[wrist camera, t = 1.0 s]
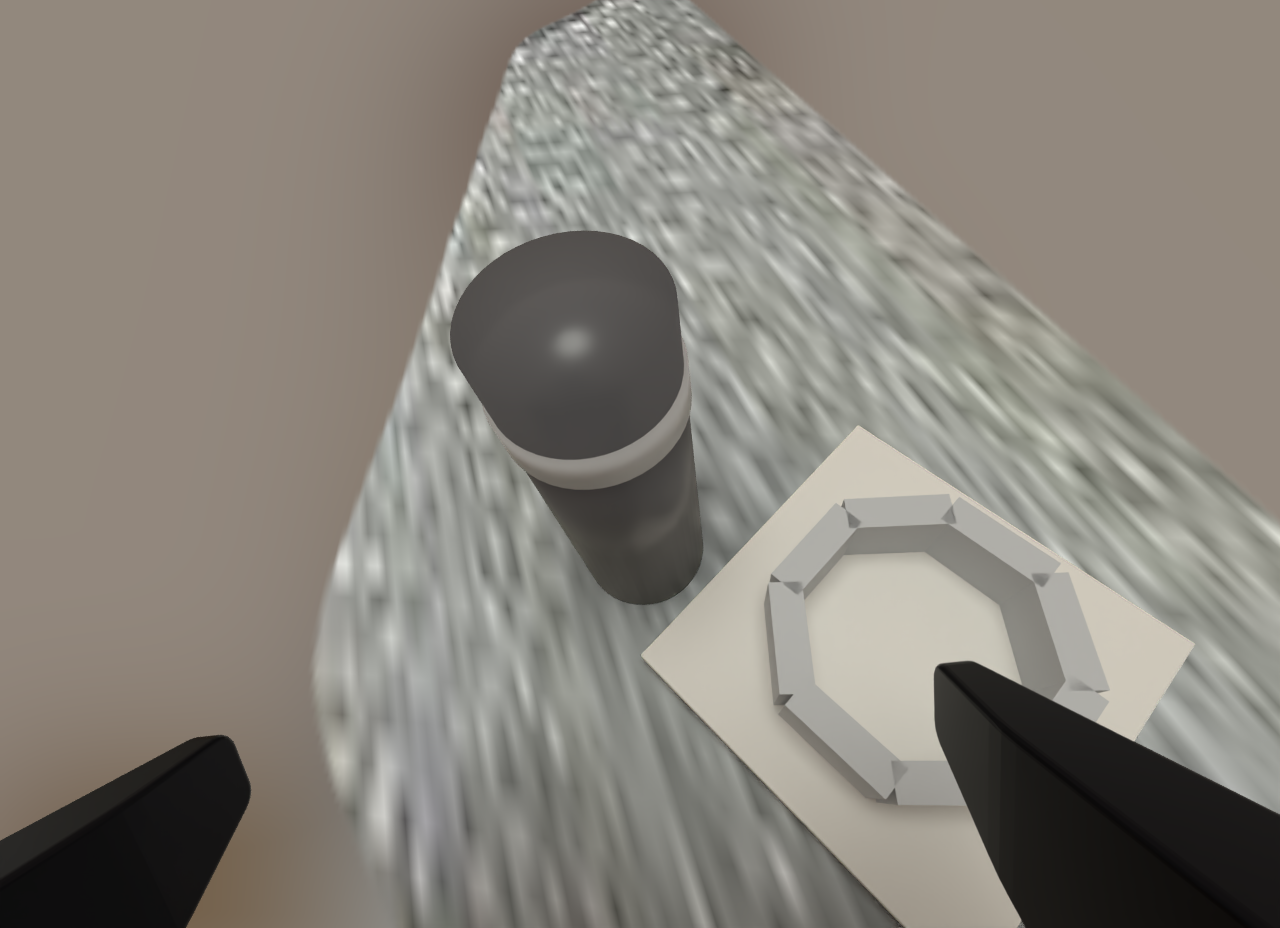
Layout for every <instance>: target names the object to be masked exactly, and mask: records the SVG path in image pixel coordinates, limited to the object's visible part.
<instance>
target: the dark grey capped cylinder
mask: <svg viewBox="0 0 1280 928" xmlns="http://www.w3.org/2000/svg"><path fill="white" fill-rule="evenodd" d="M450 340H451V348H452V352H453V356H454V358H455V361H456V363H457V366H458V367H459V369H460V370H461V372H462V373H463V375H464V376H465V378H466V380H467V381H468V383H469V384H470V386H471V387H472V389H473V390H474V392H475V393H476V395H477V397H478V398H479V400H480V401H481V403H482V406H483V410H484V413H485V415H486V418H487V420H488V422H489V424H490V425H491V427H492V428H493V430H494V432H495V433H496V435H497V436H498V438H499V439H500V441H501V442H502V444H503V445H504V447H505V448H506V450H507V451H508V453H509V454H510V456H511V457H512V459H513V460H514V461H515V462H516V463H517V464H518V465H519V467H521V468H522V469H523V470H524V471H526V473H527V474H528V476H529V477H530V479H531V480H532V482H533V483H534V485H535V487H536V488H537V490H538V491H539V493H540V494H541V496H542V497H543V499H544V501H545V502H546V504H547V505H548V507H549V508H550V510H551V511H552V513H553V515H554V516H555V518H556V519H557V521H558V522H559V524H560V525H561V527H562V528H563V530H564V532H565V533H566V535H567V536H568V538H569V539H570V541H571V542H572V544H573V546H574V547H575V549H576V550H577V552H578V553H579V555H580V556H581V558H582V560H583V561H584V563H585V564H586V566H587V567H588V569H589V570H590V572H591V574H592V575H593V577H594V578H595V580H596V581H597V583H598V584H599V585H600V586H601V587H602V589H604V590H605V591H606V592H607V593H608V594H610V595H611V596H613V597H614V598H617V599H619V600H621V601H624V602H627V603H632V604H642V605H645V604H654V603H658V602H662V601H664V600H667V599H669V598H671V597H673V596H675V595H676V594H678V593H679V592H681V591H682V590H683V589H684V588H685V587H686V586H687V585H688V584H689V583H690V582H691V580H692V579H693V577H694V576H695V574H696V573H697V570H698V568H699V566H700V563H701V560H702V554H703V539H702V530H701V520H700V511H699V501H698V491H697V482H696V472H695V463H694V453H693V444H692V434H691V424H690V410H691V400H692V393H691V382H690V371H689V361H688V353H687V349H686V346H685V343H684V340H683V338H682V336H681V329H680V319H679V309H678V300H677V292H676V287H675V284H674V281H673V278H672V276H671V274H670V273H669V271H668V269H667V268H666V266H665V265H664V264H663V262H662V261H661V260H660V259H659V258H658V257H657V256H656V255H655V254H654V253H653V252H651V251H650V250H649V249H647V248H646V247H644V246H643V245H641V244H639V243H637V242H635V241H633V240H631V239H628V238H625V237H623V236H619V235H615V234H611V233H606V232H598V231H570V232H563V233H556V234H552V235H548V236H544V237H540V238H537V239H534V240H531V241H529V242H526V243H524V244H522V245H520V246H517V247H515V248H514V249H512V250H510V251H508V252H506V253H504V254H503V255H501V256H500V257H499V258H497V259H496V260H494V261H493V262H492V263H490V264H489V265H488V266H487V267H486V268H484V269H483V270H482V271H481V272H480V273H479V274H478V275H477V276H476V277H475V278H474V279H473V281H472V282H471V283H470V284H469V286H468V287H467V288H466V290H465V291H464V293H463V295H462V296H461V298H460V300H459V302H458V304H457V306H456V309H455V311H454V315H453V318H452V322H451V330H450Z"/></svg>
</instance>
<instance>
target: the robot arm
mask: <svg viewBox="0 0 1280 928" xmlns="http://www.w3.org/2000/svg"><path fill="white" fill-rule="evenodd" d="M934 721H935V729H936V733H937V737H938V740H939V743H940V745H941V748H942V750H943V752H944V755H945V757H946V759H947V762H948V764H949V766H950V768H951V771H952V773H953V775H954V778H955V780H956V782H957V784H958V787H959V789H960V791H961V794H962V796H963V798H964V801H965V803H966V805H967V807H968V810H969V812H970V814H971V817H972V819H973V821H974V823H975V826H976V828H977V830H978V833H979V835H980V837H981V840H982V842H983V844H984V846H985V849H986V851H987V853H988V856H989V858H990V860H991V862H992V864H993V866H994V869H995V871H996V873H997V875H998V877H999V879H1000V881H1001V883H1002V885H1003V887H1004V889H1005V891H1006V893H1007V895H1008V896H1009V898H1010V900H1011V902H1012V904H1013V906H1014V908H1015V909H1016V911H1017V913H1018V915H1019V917H1020V918H1021V920H1022V922H1023V924H1024V926H1025V927H1026V928H1280V814H1278V813H1276V812H1274V811H1272V810H1270V809H1268V808H1266V807H1264V806H1262V805H1260V804H1258V803H1256V802H1254V801H1252V800H1250V799H1248V798H1246V797H1244V796H1242V795H1240V794H1238V793H1236V792H1234V791H1232V790H1230V789H1228V788H1226V787H1224V786H1222V785H1220V784H1218V783H1216V782H1214V781H1212V780H1210V779H1208V778H1206V777H1204V776H1202V775H1200V774H1198V773H1196V772H1194V771H1192V770H1190V769H1188V768H1186V767H1184V766H1182V765H1180V764H1178V763H1176V762H1174V761H1172V760H1170V759H1168V758H1166V757H1164V756H1162V755H1160V754H1158V753H1156V752H1154V751H1152V750H1150V749H1148V748H1146V747H1144V746H1142V745H1140V744H1138V743H1136V742H1134V741H1132V740H1130V739H1128V738H1126V737H1124V736H1122V735H1120V734H1118V733H1116V732H1114V731H1112V730H1110V729H1108V728H1106V727H1104V726H1102V725H1100V724H1098V723H1096V722H1094V721H1092V720H1090V719H1088V718H1086V717H1084V716H1082V715H1080V714H1078V713H1076V712H1074V711H1072V710H1070V709H1068V708H1066V707H1064V706H1062V705H1060V704H1058V703H1056V702H1054V701H1052V700H1050V699H1048V698H1046V697H1044V696H1042V695H1040V694H1038V693H1036V692H1034V691H1032V690H1030V689H1029V688H1027V687H1025V686H1023V685H1021V684H1019V683H1017V682H1015V681H1013V680H1011V679H1009V678H1007V677H1005V676H1003V675H1001V674H999V673H997V672H995V671H993V670H991V669H989V668H987V667H985V666H983V665H981V664H979V663H976V662H974V661H958V662H948V663H940V664H939V665H937V666H936V667H935V671H934ZM250 795H251V785H250V781H249V779H248V776H247V774H246V771H245V769H244V766H243V764H242V761H241V759H240V756H239V754H238V751H237V749H236V746H235V744H234V742H233V741H232V740H231V739H230V738H229V737H228V736H224V735H214V736H205V737H196V738H193V739H190V740H188V741H186V742H184V743H182V744H180V745H179V746H177V747H175V748H173V749H171V750H169V751H167V752H165V753H164V754H162V755H160V756H158V757H156V758H154V759H152V760H151V761H149V762H147V763H145V764H143V765H141V766H139V767H137V768H135V769H134V770H132V771H130V772H128V773H126V774H124V775H122V776H120V777H119V778H117V779H115V780H113V781H111V782H109V783H107V784H105V785H104V786H102V787H100V788H98V789H96V790H94V791H92V792H90V793H89V794H87V795H85V796H83V797H81V798H79V799H77V800H75V801H74V802H72V803H70V804H68V805H66V806H65V807H62V808H61V809H59V810H57V811H55V812H53V813H51V814H49V815H47V816H46V817H44V818H42V819H40V820H38V821H36V822H34V823H33V824H31V825H29V826H27V827H25V828H23V829H21V830H19V831H17V832H16V833H14V834H12V835H10V836H8V837H6V838H4V839H3V840H1V841H0V928H186V927H187V925H188V923H189V921H190V919H191V917H192V915H193V913H194V911H195V909H196V907H197V905H198V903H199V901H200V899H201V897H202V895H203V894H204V891H205V889H206V888H207V885H208V884H209V882H210V880H211V878H212V875H213V874H214V872H215V870H216V868H217V866H218V864H219V862H220V860H221V858H222V856H223V854H224V852H225V850H226V848H227V846H228V844H229V842H230V840H231V838H232V836H233V834H234V832H235V830H236V828H237V826H238V824H239V822H240V820H241V818H242V816H243V814H244V812H245V810H246V808H247V806H248V803H249V800H250Z"/></svg>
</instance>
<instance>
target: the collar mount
mask: <svg viewBox="0 0 1280 928" xmlns="http://www.w3.org/2000/svg"><path fill="white" fill-rule="evenodd" d="M1194 645H1195V644H1194V643H1193V642H1191V641H1190V640H1188V639H1187V638H1185V637H1184V636H1182V635H1181V634H1179V633H1177V632H1176V631H1174V630H1173V629H1171V628H1170V627H1168V626H1167V625H1165V624H1164V623H1162V622H1160V621H1159V620H1157V619H1156V618H1154V617H1153V616H1151V615H1150V614H1148V613H1147V612H1145V611H1144V610H1142V609H1140V608H1139V607H1137V606H1136V605H1134V604H1133V603H1131V602H1130V601H1128V600H1127V599H1125V598H1124V597H1122V596H1120V595H1119V594H1117V593H1116V592H1114V591H1113V590H1111V589H1110V588H1108V587H1107V586H1105V585H1103V584H1102V583H1100V582H1099V581H1097V580H1096V579H1094V578H1093V577H1091V576H1090V575H1088V574H1087V573H1085V572H1083V571H1082V570H1080V569H1079V568H1077V567H1076V566H1074V565H1073V564H1071V563H1070V562H1068V561H1067V560H1065V559H1063V558H1062V557H1060V556H1059V555H1057V554H1056V553H1054V552H1053V551H1051V550H1050V549H1048V548H1047V547H1045V546H1043V545H1042V544H1040V543H1039V542H1037V541H1036V540H1034V539H1033V538H1031V537H1030V536H1028V535H1026V534H1025V533H1023V532H1022V531H1020V530H1019V529H1017V528H1016V527H1014V526H1013V525H1011V524H1010V523H1008V522H1006V521H1005V520H1003V519H1002V518H1000V517H999V516H997V515H996V514H994V513H993V512H991V511H990V510H988V509H986V508H985V507H983V506H982V505H980V504H979V503H977V502H976V501H974V500H973V499H971V498H970V497H968V496H966V495H965V494H963V493H962V492H960V491H959V490H957V489H956V488H954V487H953V486H951V485H949V484H948V483H946V482H945V481H943V480H942V479H940V478H939V477H937V476H936V475H934V474H933V473H931V472H929V471H928V470H926V469H925V468H923V467H922V466H920V465H919V464H917V463H916V462H914V461H913V460H911V459H909V458H908V457H906V456H905V455H903V454H902V453H900V452H899V451H897V450H896V449H894V448H893V447H891V446H889V445H888V444H886V443H885V442H883V441H882V440H880V439H879V438H877V437H876V436H874V435H872V434H871V433H869V432H868V431H866V430H865V429H863V428H862V427H860V426H859V425H858V426H857V427H856V428H855V429H854V430H853V431H852V432H851V433H850V434H849V435H848V436H847V438H846V439H845V440H844V441H843V442H842V443H841V444H840V445H839V446H838V447H837V448H836V449H835V450H834V451H833V452H832V453H831V454H830V456H829V457H828V458H827V459H826V460H825V461H824V462H823V463H822V464H821V465H820V466H819V467H818V468H817V469H816V470H815V471H814V472H813V474H812V475H811V476H810V477H809V478H808V479H807V480H806V481H805V482H804V483H803V484H802V485H801V486H800V487H799V488H798V489H797V490H796V491H795V493H794V494H793V495H792V496H791V497H790V498H789V499H788V500H787V501H786V502H785V503H784V504H783V505H782V506H781V507H780V508H779V509H778V511H777V512H776V513H775V514H774V515H773V516H772V517H771V518H770V519H769V520H768V521H767V522H766V523H765V524H764V525H763V526H762V527H761V529H760V530H759V531H758V532H757V533H756V534H755V535H754V536H753V537H752V538H751V539H750V540H749V541H748V542H747V543H746V544H745V545H744V546H743V548H742V549H741V550H740V551H739V552H738V553H737V554H736V555H735V556H734V557H733V558H732V559H731V560H730V561H729V562H728V563H727V564H726V566H725V567H724V568H723V569H722V570H721V571H720V572H719V573H718V574H717V575H716V576H715V577H714V578H713V579H712V580H711V581H710V582H709V584H708V585H707V586H706V587H705V588H704V589H703V590H702V591H701V592H700V593H699V594H698V595H697V596H696V597H695V598H694V599H693V600H692V601H691V603H690V604H689V605H688V606H687V607H686V608H685V609H684V610H683V611H682V612H681V613H680V614H679V615H678V616H677V617H676V618H675V619H674V621H673V622H672V623H671V624H670V625H669V626H668V627H667V628H666V629H665V630H664V631H663V632H662V633H661V634H660V635H659V636H658V637H657V639H656V640H655V641H654V642H653V643H652V644H651V645H650V646H649V647H648V648H647V649H646V650H645V651H644V652H643V653H642V654H641V657H642V658H643V660H644V661H645V662H646V663H647V664H648V665H649V666H650V667H651V668H652V669H653V670H654V671H655V672H656V673H657V674H658V675H659V676H660V677H661V678H662V679H663V680H664V682H665V683H666V684H667V685H668V686H669V687H670V688H671V689H672V690H673V691H674V692H675V693H676V694H677V695H678V696H679V697H680V698H681V699H682V700H683V701H684V702H685V703H686V704H687V705H688V706H689V707H690V708H691V709H692V710H693V711H694V712H695V713H696V714H697V715H698V716H699V717H700V719H701V720H702V721H703V722H704V723H705V724H706V725H707V726H708V727H709V728H710V729H711V730H712V731H713V732H714V733H715V734H716V735H717V736H718V737H719V738H720V739H721V740H722V741H723V742H724V743H725V744H726V745H727V746H728V747H729V748H730V749H731V750H732V751H733V752H734V753H735V754H736V755H737V757H738V758H739V759H740V760H741V761H742V762H743V763H744V764H745V765H746V766H747V767H748V768H749V769H750V770H751V771H752V772H753V773H754V774H755V775H756V776H757V777H758V778H759V779H760V780H761V781H762V782H763V783H764V784H765V785H766V786H767V787H768V788H769V789H770V790H771V791H772V792H773V794H774V795H775V796H776V797H777V798H778V799H779V800H780V801H781V802H782V803H783V804H784V805H785V806H786V807H787V808H788V809H789V810H790V811H791V812H792V813H793V814H794V815H795V816H796V817H797V818H798V819H799V820H800V821H801V822H802V823H803V824H804V825H805V826H806V827H807V828H808V829H809V831H810V832H811V833H812V834H813V835H814V836H815V837H816V838H817V839H818V840H819V841H820V842H821V843H822V844H823V845H824V846H825V847H826V848H827V849H828V850H829V851H830V852H831V853H832V854H833V855H834V856H835V857H836V858H837V859H838V860H839V861H840V862H841V863H842V864H843V865H844V866H845V867H846V869H847V870H848V871H849V872H850V873H851V874H852V875H853V876H854V877H855V878H856V879H857V880H858V881H859V882H860V883H861V884H862V885H863V886H864V887H865V888H866V889H867V890H868V891H869V892H870V893H871V894H872V895H873V896H874V897H875V898H876V899H877V900H878V901H879V902H880V903H881V904H882V906H883V907H884V908H885V909H886V910H887V911H888V912H889V913H890V914H891V915H892V916H893V917H894V918H895V919H896V920H897V921H898V922H899V923H900V924H901V925H902V926H903V927H904V928H1017V927H1018V925H1019V924H1020V922H1021V918H1020V917H1019V915H1018V913H1017V911H1016V909H1015V908H1014V906H1013V904H1012V902H1011V900H1010V898H1009V896H1008V895H1007V893H1006V891H1005V889H1004V887H1003V885H1002V883H1001V881H1000V879H999V877H998V875H997V873H996V871H995V869H994V866H993V864H992V862H991V860H990V858H989V856H988V853H987V851H986V849H985V846H984V844H983V842H982V840H981V837H980V835H979V833H978V830H977V828H976V826H975V823H974V821H973V819H972V817H971V814H970V812H969V810H968V807H967V805H966V803H965V801H964V798H963V796H962V794H961V791H960V789H959V787H958V784H957V782H956V780H955V778H954V775H953V773H952V771H951V768H950V766H949V764H948V762H947V759H946V757H945V755H944V752H943V750H942V748H941V745H940V743H939V740H938V737H937V733H936V729H935V721H934V671H935V667H936V666H937V665H939V664H940V663H948V662H958V661H974V662H976V663H979V664H981V665H983V666H985V667H987V668H989V669H991V670H993V671H995V672H997V673H999V674H1001V675H1003V676H1005V677H1007V678H1009V679H1011V680H1013V681H1015V682H1017V683H1019V684H1021V685H1023V686H1025V687H1027V688H1029V689H1030V690H1032V691H1034V692H1036V693H1038V694H1040V695H1042V696H1044V697H1046V698H1048V699H1050V700H1052V701H1054V702H1056V703H1058V704H1060V705H1062V706H1064V707H1066V708H1068V709H1070V710H1072V711H1074V712H1076V713H1078V714H1080V715H1082V716H1084V717H1086V718H1088V719H1090V720H1092V721H1094V722H1096V723H1098V724H1100V725H1102V726H1104V727H1106V728H1108V729H1110V730H1112V731H1114V732H1116V733H1118V734H1120V735H1122V736H1124V737H1126V738H1128V739H1130V740H1132V741H1135V739H1136V737H1137V736H1138V734H1139V733H1140V731H1141V730H1142V728H1143V726H1144V725H1145V723H1146V722H1147V720H1148V718H1149V717H1150V715H1151V714H1152V712H1153V710H1154V709H1155V707H1156V706H1157V704H1158V702H1159V701H1160V699H1161V698H1162V696H1163V695H1164V693H1165V691H1166V690H1167V688H1168V687H1169V685H1170V683H1171V682H1172V680H1173V679H1174V677H1175V675H1176V674H1177V672H1178V671H1179V669H1180V667H1181V666H1182V664H1183V663H1184V661H1185V660H1186V658H1187V656H1188V655H1189V653H1190V652H1191V650H1192V648H1193V647H1194Z"/></svg>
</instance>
